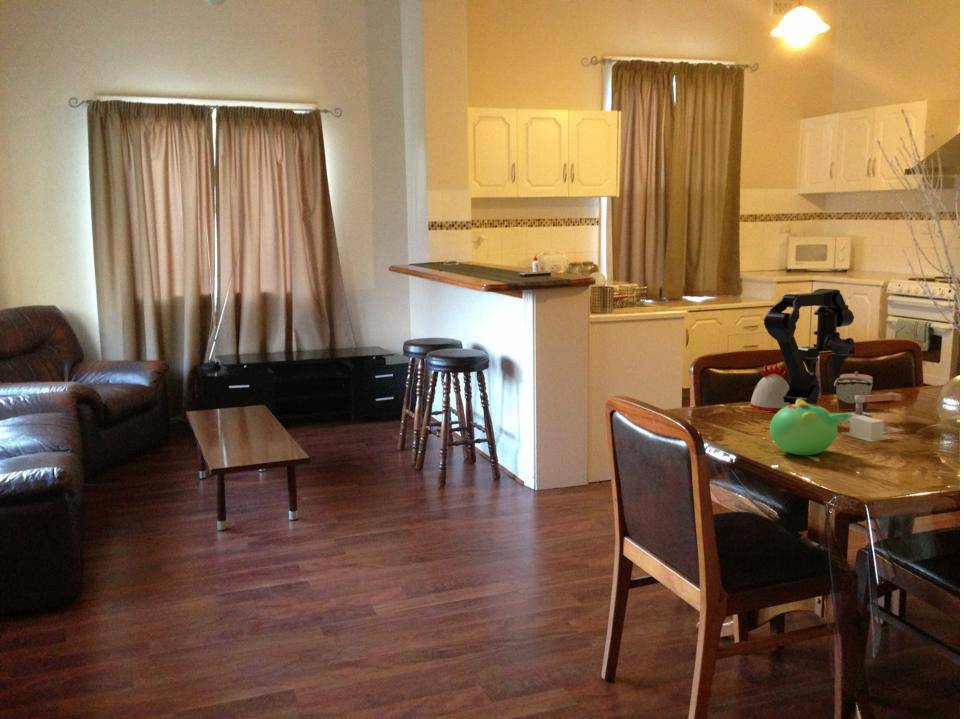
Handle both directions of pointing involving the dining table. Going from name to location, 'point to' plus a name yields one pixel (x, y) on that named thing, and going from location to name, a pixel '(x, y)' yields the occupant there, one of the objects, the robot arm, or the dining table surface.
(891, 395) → the latch bar
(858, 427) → the block
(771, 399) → the kitchen timer
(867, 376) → the lidded jar
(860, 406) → the housing
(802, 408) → the toy bird
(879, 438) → the mat
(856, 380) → the food container
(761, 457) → the dining table surface
